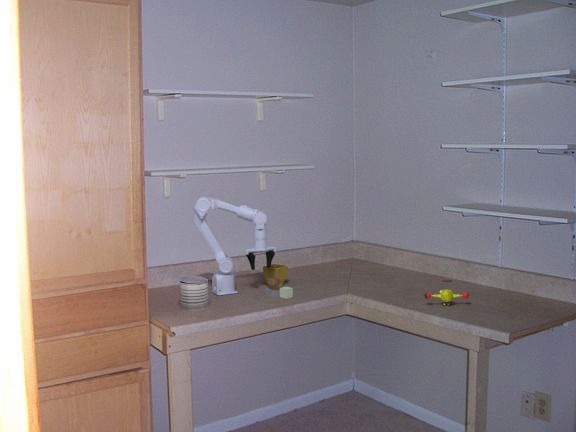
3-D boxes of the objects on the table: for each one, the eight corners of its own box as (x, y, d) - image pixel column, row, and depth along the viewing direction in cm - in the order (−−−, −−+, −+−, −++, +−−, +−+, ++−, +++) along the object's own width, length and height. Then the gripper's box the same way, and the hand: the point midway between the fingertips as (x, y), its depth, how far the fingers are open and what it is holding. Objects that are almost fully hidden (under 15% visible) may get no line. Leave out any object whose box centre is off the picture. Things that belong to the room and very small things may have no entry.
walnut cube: (273, 290, 272) (273, 280, 272) (268, 288, 276) (268, 278, 276) (282, 289, 275) (282, 279, 274) (277, 287, 278) (277, 277, 278)
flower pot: (277, 287, 289) (276, 268, 288) (262, 285, 294) (262, 266, 293) (288, 284, 296) (288, 265, 295) (274, 282, 301) (273, 263, 300)
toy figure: (466, 303, 258) (467, 287, 257) (470, 307, 253) (470, 290, 252) (422, 304, 258) (422, 287, 257) (425, 307, 253) (425, 291, 252)
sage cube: (286, 298, 269) (286, 289, 269) (279, 297, 272) (279, 288, 271) (292, 297, 272) (292, 288, 271) (286, 295, 275) (286, 286, 274)
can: (194, 302, 263) (193, 274, 262) (214, 306, 257) (213, 277, 256) (174, 308, 254) (173, 279, 253) (195, 312, 248) (194, 282, 246)
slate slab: (272, 297, 272) (272, 291, 271) (265, 295, 277) (265, 288, 276) (284, 295, 275) (284, 289, 275) (276, 293, 280) (276, 286, 280)
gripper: (249, 241, 272) (249, 272, 273) (278, 238, 279) (279, 268, 280) (242, 238, 278) (243, 269, 280) (271, 236, 285) (272, 265, 286)
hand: (260, 268), depth 280 cm, fingers open, 7 cm apart
